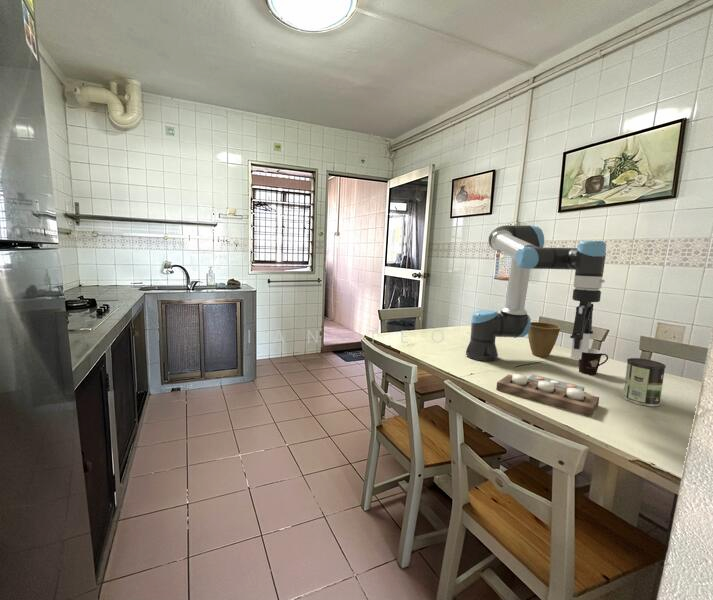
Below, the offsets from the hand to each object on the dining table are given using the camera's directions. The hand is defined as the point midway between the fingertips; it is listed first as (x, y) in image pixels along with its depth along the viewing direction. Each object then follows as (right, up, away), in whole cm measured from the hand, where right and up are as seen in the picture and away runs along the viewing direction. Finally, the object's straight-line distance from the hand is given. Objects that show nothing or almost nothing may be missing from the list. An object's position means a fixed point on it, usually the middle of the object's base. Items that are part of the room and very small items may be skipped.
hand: (579, 355), depth 112 cm
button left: (-13, -13, +14) cm, 23 cm away
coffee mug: (+29, -14, +35) cm, 48 cm away
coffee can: (+27, -18, +8) cm, 33 cm away
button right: (0, -15, +2) cm, 15 cm away
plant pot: (+20, -10, +61) cm, 65 cm away
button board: (-7, -17, +9) cm, 20 cm away
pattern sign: (+2, -16, +18) cm, 24 cm away
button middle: (-7, -14, +8) cm, 17 cm away
